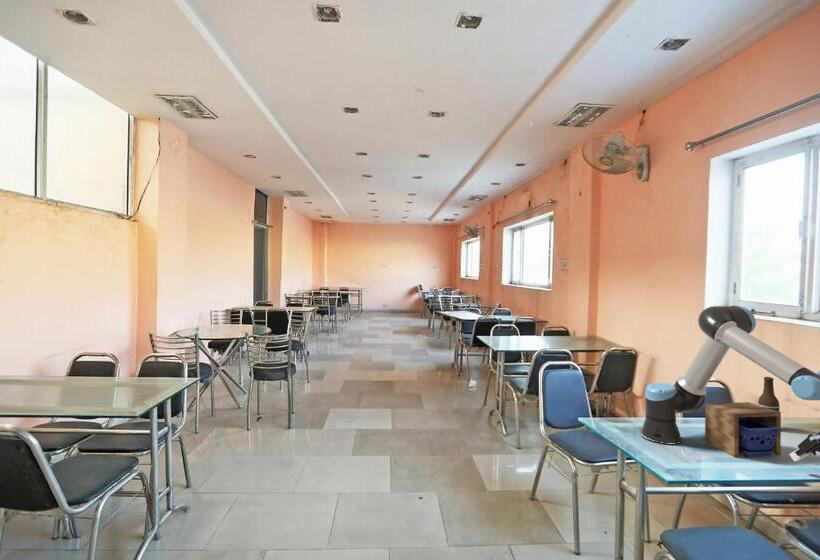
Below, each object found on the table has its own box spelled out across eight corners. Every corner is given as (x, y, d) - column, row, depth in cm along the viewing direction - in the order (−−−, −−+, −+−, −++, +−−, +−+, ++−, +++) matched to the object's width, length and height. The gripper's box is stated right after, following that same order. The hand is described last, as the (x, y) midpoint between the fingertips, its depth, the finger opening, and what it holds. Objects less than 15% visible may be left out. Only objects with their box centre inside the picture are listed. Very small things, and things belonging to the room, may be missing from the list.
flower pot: (720, 446, 179) (720, 418, 179) (750, 445, 180) (750, 417, 180) (748, 459, 166) (748, 429, 166) (780, 458, 167) (779, 428, 167)
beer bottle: (784, 431, 197) (784, 379, 198) (767, 431, 198) (767, 379, 198) (770, 425, 205) (770, 375, 205) (753, 425, 205) (753, 375, 205)
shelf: (780, 454, 171) (780, 412, 171) (734, 457, 168) (734, 413, 168) (748, 441, 185) (748, 402, 185) (705, 443, 182) (705, 403, 182)
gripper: (837, 439, 136) (785, 469, 152) (872, 437, 137) (816, 467, 154) (818, 417, 141) (770, 448, 157) (852, 415, 143) (801, 446, 159)
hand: (793, 457), depth 155 cm, fingers closed
